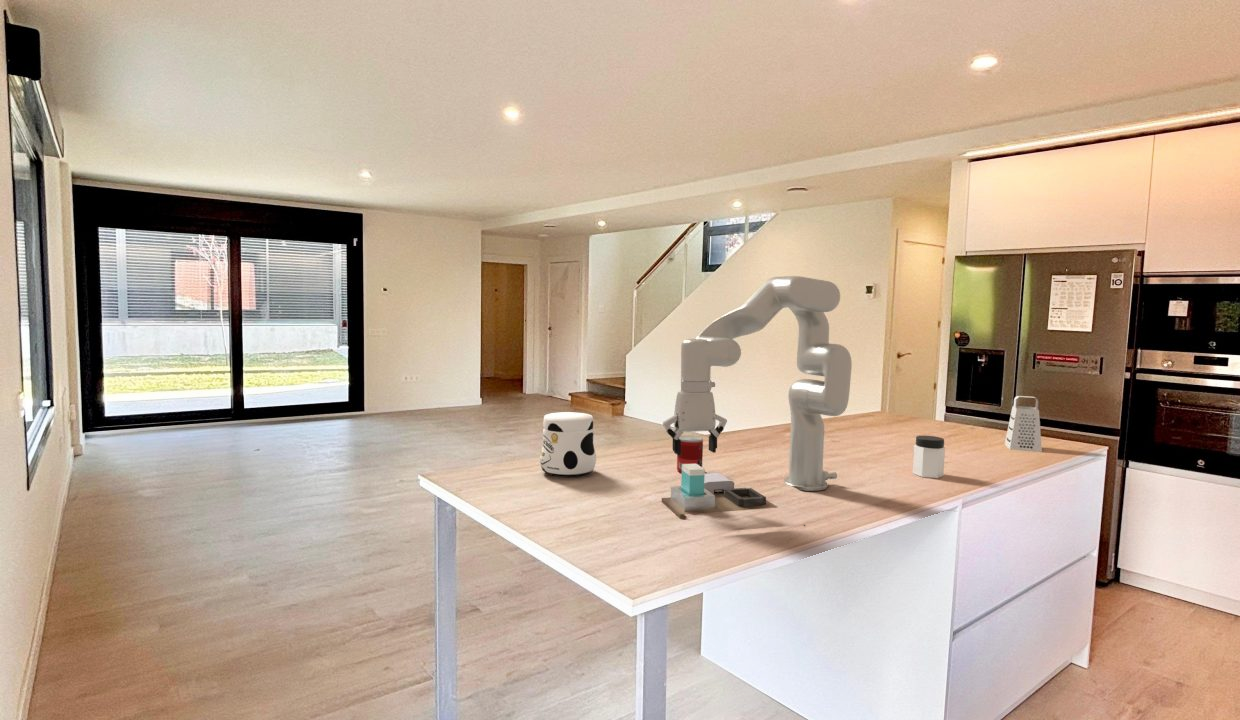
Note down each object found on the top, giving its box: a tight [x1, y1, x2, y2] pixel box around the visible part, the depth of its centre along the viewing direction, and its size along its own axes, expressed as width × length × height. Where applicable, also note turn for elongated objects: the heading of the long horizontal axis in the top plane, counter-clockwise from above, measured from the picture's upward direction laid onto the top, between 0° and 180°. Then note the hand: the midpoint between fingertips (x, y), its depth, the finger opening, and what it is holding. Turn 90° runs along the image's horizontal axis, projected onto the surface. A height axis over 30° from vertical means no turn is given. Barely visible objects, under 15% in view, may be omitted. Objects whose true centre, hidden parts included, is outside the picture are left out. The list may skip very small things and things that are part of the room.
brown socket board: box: [661, 487, 778, 519], centre depth 171 cm, size 27×14×3 cm, turn 105°
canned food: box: [676, 435, 704, 475], centre depth 205 cm, size 8×8×11 cm
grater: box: [1004, 395, 1043, 453], centre depth 250 cm, size 10×10×20 cm
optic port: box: [670, 485, 716, 512], centre depth 169 cm, size 8×10×4 cm
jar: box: [912, 435, 946, 479], centre depth 207 cm, size 9×8×12 cm
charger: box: [704, 472, 735, 495], centre depth 186 cm, size 5×9×15 cm
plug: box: [680, 464, 706, 496], centre depth 168 cm, size 4×6×10 cm
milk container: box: [539, 411, 597, 478], centre depth 201 cm, size 17×17×18 cm
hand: (694, 452), depth 168 cm, fingers open, 9 cm apart
